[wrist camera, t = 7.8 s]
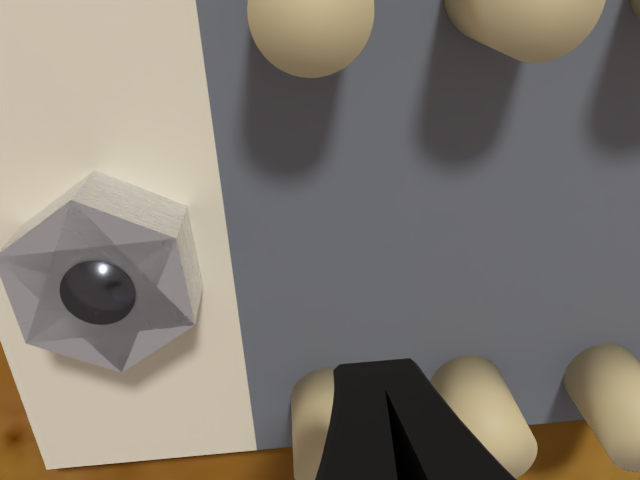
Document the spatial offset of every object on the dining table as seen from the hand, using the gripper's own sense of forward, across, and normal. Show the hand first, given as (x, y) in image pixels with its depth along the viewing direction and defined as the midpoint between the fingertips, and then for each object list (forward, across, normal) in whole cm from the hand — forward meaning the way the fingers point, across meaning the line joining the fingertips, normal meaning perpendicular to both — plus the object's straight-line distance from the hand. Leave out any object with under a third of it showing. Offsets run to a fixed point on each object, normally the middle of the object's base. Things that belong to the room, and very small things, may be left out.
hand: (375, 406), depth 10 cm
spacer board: (+8, 0, 0) cm, 8 cm away
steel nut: (+7, +6, 0) cm, 9 cm away
